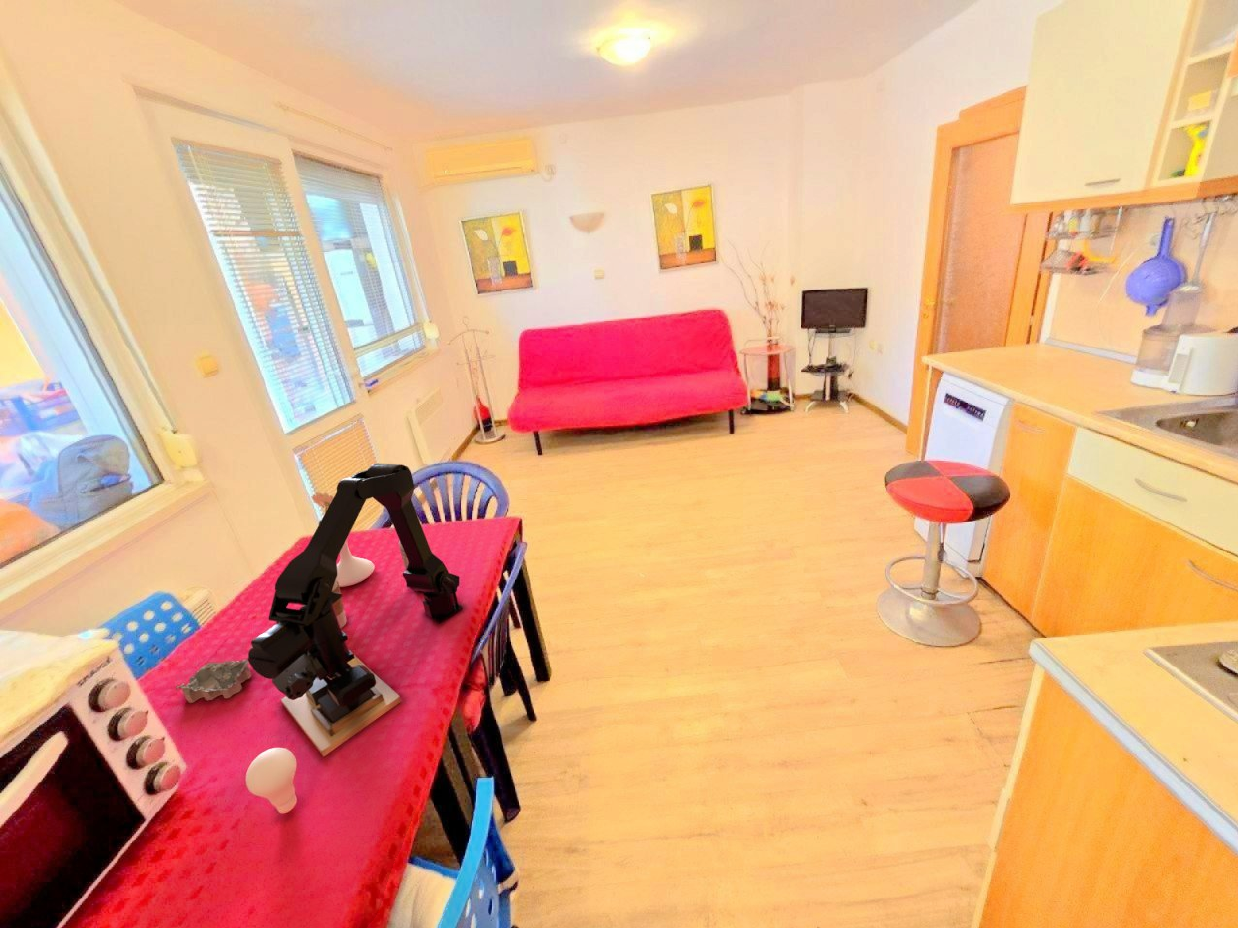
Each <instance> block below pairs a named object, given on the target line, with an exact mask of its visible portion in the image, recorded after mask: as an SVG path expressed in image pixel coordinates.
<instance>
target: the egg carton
mask: <svg viewBox="0 0 1238 928" xmlns="http://www.w3.org/2000/svg"><path fill="white" fill-rule="evenodd" d="M248 665H249V662H248V658H245V659H243V660H239V661H238V660H236V661H234V660H230V661H223V662H208V663H205V664H204V665H203V666H201V667H200V668H199V670H198V671H197V670H196V671H195V673H194V675H193V676H190V677H189V680H188V681H189V682H188V683H187V684H185V683H182V684H180V685H177V686H175V690H181V692H182V695H183V696H184V698H185V699H186V700H187V702H188V703H189V704H192V703H195V702H196V701H198V700H199V699H202V698H204V699H205V700H206V701H211V700H214V699H215V698H216V697H217V698H218V697H219V696H223V698H224V699H229V698H231V697H232V696H234V695H235V694H237V693H239V692H241V691H242V690H243V687H242V685H241V684H242V683H244V682H245V681H246V680H249V679H250V678H251V677H252V673H251V672H252V671H251V670H250V667H249V666H248Z"/></svg>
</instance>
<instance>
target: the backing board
mask: <svg viewBox="0 0 1238 928" xmlns="http://www.w3.org/2000/svg"><path fill="white" fill-rule="evenodd" d="M354 657H355V658H354V659H352V660H351V661H349V662H347V663H348V664H349V665H350V666H351V667H355V666H357V665H362V666H365V667H366V668H368V669H369V670H370V671H371V672H372V673H373V674H374V676H375V679H376V682H377V683H376V685H375V686H374V687H373V688H371V689H370V691H371V694H372V698H371V699H369V700H368V701H366V702H365V703H363V704H362V705H360V706H359V707H357V708H356V709H354V710H353V711H351V712H350V713H349V714H347V715H346V716H344V717H343V718H341V719H340V720H338V721H337V722H335V723H334V724H332V723H331V722H330V721H329V720H328V719H327V718H326V717H325V715H324V714H323V712H322V709H321V707H320V704H319V702H318V699H320V698H322V697H323V696H325V695H326V694H327V692H329V691H328V688H329V686H328V685H327V683H326V682H325V681H324V680H323V679H322V680H321V681H320V680H319V679H318V678H316V679H315V680H314V681H313V686H312V687H311V688H310V689H309V690H308V691H307V692H306V693H305V694H304V695H303V696H302V697H300V698H297V699H295V700H291V699H288V697H287V696H286V695H284V697H281V698H280V699H279V700H280V702H281V705H282V706H283V707H284V708H285V709H286V711H287V712H288V714H289V715H290V716H291V717H292V718H293V720H294V721H295V723H297V725H298V726H299V727H300V729H301V730H302V731H303V733H304V734H305V735H306V736H307V738H308V739H309V740H310V742H311V743H312V744H313V745H314V746H315V748H316V749H317V750H318V752H319V753H320V754H321V755H322V757H325V756H327V755H328V754H330V753H331V752H333V751H334V750H335V749H336V748H338V747H339V746H341V745H343V744H344V743H345V742H346V741H348V740H349V739H350V738H352V737H353V736H355V735H356V734H358V733H359V732H361V731H362V730H363V729H365V728H366V727H368V726H369V725H370V724H372V723H373V722H375V721H376V720H377V719H378V718H380V717H382V716H383V715H384V714H386V713H387V712H389V711H390V710H391V709H393V708H394V707H396V706H397V705H398V704H400V703H402V698H401V696H400V695H399V694H398V693H397V692H396V691H395V690H394V689H393V688H391V687H390V686H389V685H388V684H387V683H386V682H385V681H384V680H382V679H381V678H380V677H379V676H378V675H377V674H376V673H375V672H374V671H373V670H371V669H370V668H369V667H368V666H366V665H365V664H364V662H362V661H361V660H360V659H359V658H358V657H357V656H356V655H354Z"/></svg>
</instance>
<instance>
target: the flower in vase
mask: <svg viewBox="0 0 1238 928" xmlns="http://www.w3.org/2000/svg"><path fill="white" fill-rule="evenodd" d="M334 496H335V495H332V494H329V493H328V492H323V493H321V492H320V491H319V492H315V494H312V495H311V497H310V498H311V499H312V502H313V503H314V504H317V506H319V507H321V508H324V509H325V510H324V514H325V513H326V511H327V509H328V507H329V505H330V504H331V502H332V500H333V498H334ZM321 520H322V519H321ZM321 520H319V521H318V525H319V524H320V522H321ZM339 555H340V560H339V562H338V563H336V564H337V581H338V583H339V587H340V588H345V587H350V586H354V585H356V584H359V583H361V582H363V581H364V580H366V579H368V578H369V577H370V576H371V575H372V574H373V573H374V571H375V567H376V565H375V564H374V563H373V562H372V561H371V560H369V559H367V558H363V557H358V556H354V555H352V553H351V550H350V548H349V543H348V538H347V539H346V541H345V543H344V545H343V547H342V549H341V551H340V553H339Z"/></svg>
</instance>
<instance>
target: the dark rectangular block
mask: <svg viewBox="0 0 1238 928" xmlns="http://www.w3.org/2000/svg"><path fill="white" fill-rule="evenodd" d="M371 698H372V694H371V691H370V690H368V691H367V692H365V693H364V694H362V695H361V696H360V700H359V704H358V707H359V706H360V705H362V704H363V703H365V702H366V701H368V700H369V699H371ZM318 702H319V704H320V707H321V709H322V712H323V714H324V715H325V717H326V718H327V719H328V720H329V721H330V722H331V723H332V724H334V723H335V722H337V721H338V720H340V719H341V718H343V717H344V716H346V715H347V714H349V713H350V712H351V711H350V710H349V708H348V707H347V706H346V705H345V706H341V707H340V706H339V705H338V704H337V703H336V702H335V701H334V700H333V699H332V698H331V697H330V696H329V695H328V694H326V695H325V696H323V697H322V698H320V699H318Z"/></svg>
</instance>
